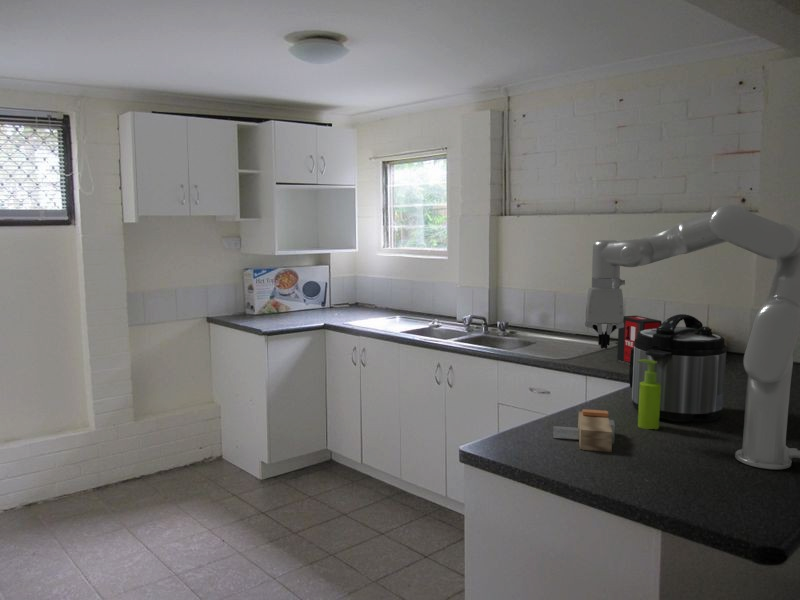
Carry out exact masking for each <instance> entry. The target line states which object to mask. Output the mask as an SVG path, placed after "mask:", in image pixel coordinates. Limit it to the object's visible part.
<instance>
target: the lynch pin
mask: <svg viewBox="0 0 800 600" xmlns="http://www.w3.org/2000/svg"><path fill="white" fill-rule="evenodd" d="M609 422H610V425H611V429H612V445H614V444H615V431H616V424H615V420H614V419H609ZM579 433H580V428H578V427H574V426H573V427H571V426H557V425H553V437H552V438H554V439H563V440H564V439H566V440H578V441H579Z"/></svg>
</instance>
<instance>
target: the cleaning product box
mask: <svg viewBox="0 0 800 600" xmlns="http://www.w3.org/2000/svg"><path fill="white" fill-rule="evenodd" d="M623 322H624V327H623V328H619V329H617V330H618V331H617V332H618V333H617V355H616V357H617V358H616V360H617V359H618V360H621V361H625V362H628V363H630V353H631V349H632V348H634V342H635V339H637V332H638V331H641V330H648V329H657V328H658V327H659V326H660V325H661V324H662V323H663V322H662V320H658V319H655V318H651V317H650V318H649V317H645V316H642V315H641V316H640V315H624V319H623Z"/></svg>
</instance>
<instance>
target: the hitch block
mask: <svg viewBox="0 0 800 600" xmlns="http://www.w3.org/2000/svg"><path fill="white" fill-rule="evenodd" d="M577 416H578V417H577V420H578V421H577V428H580V433H579V440H578V441H579V449H582V451H583V450H585V451H593V450H594V451H595V452H596V451H597V452H606V453H607V452H608V453H612V449H613V448H612V446H613V444H612V429H611V425H610V422H609V420H610V419H609V416H608V417H601V416H587V415H583V413H582V411H578V415H577Z"/></svg>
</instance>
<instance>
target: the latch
mask: <svg viewBox="0 0 800 600" xmlns="http://www.w3.org/2000/svg"><path fill="white" fill-rule="evenodd" d="M581 412H582V413H583V415H587V416H601V417H608V418H609V411H608V410H598V409H586V408H585V409H584V408H582V410H581Z"/></svg>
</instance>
